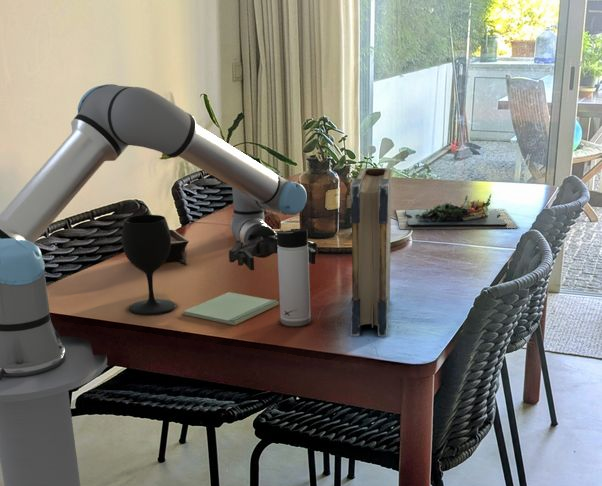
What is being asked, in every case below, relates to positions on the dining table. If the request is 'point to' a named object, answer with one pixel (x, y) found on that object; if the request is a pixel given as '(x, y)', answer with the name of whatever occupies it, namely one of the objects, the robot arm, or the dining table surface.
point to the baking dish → (177, 248)
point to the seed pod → (272, 220)
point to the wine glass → (147, 256)
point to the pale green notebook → (231, 308)
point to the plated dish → (455, 217)
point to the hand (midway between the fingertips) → (283, 261)
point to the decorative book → (370, 249)
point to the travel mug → (294, 277)
